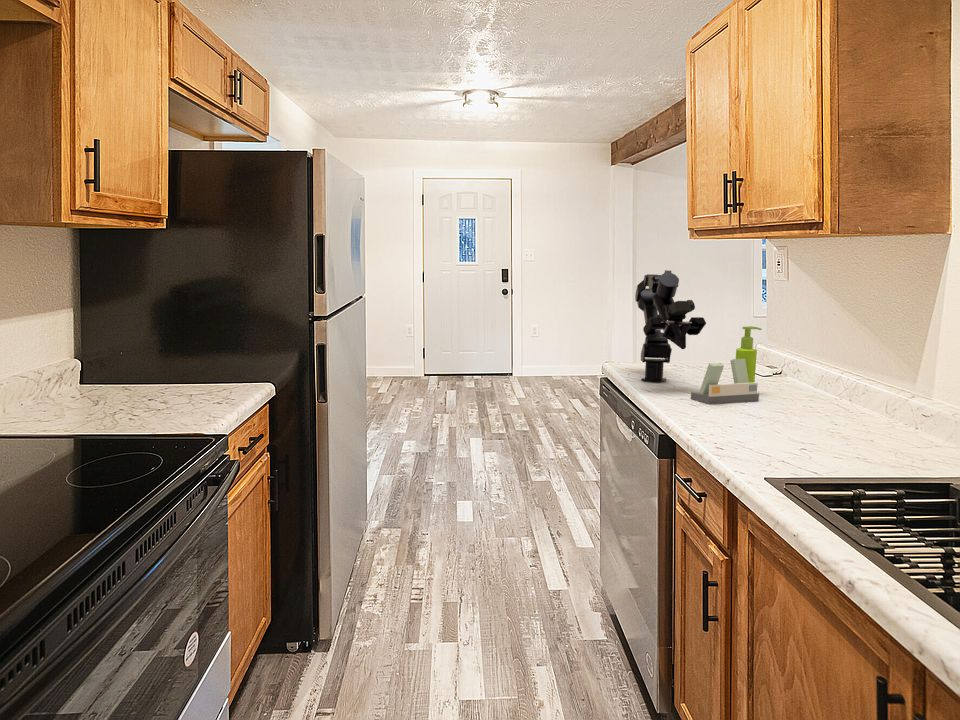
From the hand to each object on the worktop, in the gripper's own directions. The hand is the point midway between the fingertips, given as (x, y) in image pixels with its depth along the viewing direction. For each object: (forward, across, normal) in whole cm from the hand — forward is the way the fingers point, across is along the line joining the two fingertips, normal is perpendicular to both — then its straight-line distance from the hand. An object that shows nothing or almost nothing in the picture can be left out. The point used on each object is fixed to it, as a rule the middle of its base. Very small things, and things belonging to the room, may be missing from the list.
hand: (684, 348), depth 241 cm
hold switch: (+17, +13, 0) cm, 21 cm away
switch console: (+18, +6, 0) cm, 19 cm away
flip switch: (+17, 0, -1) cm, 17 cm away
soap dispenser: (+12, +20, +8) cm, 25 cm away
